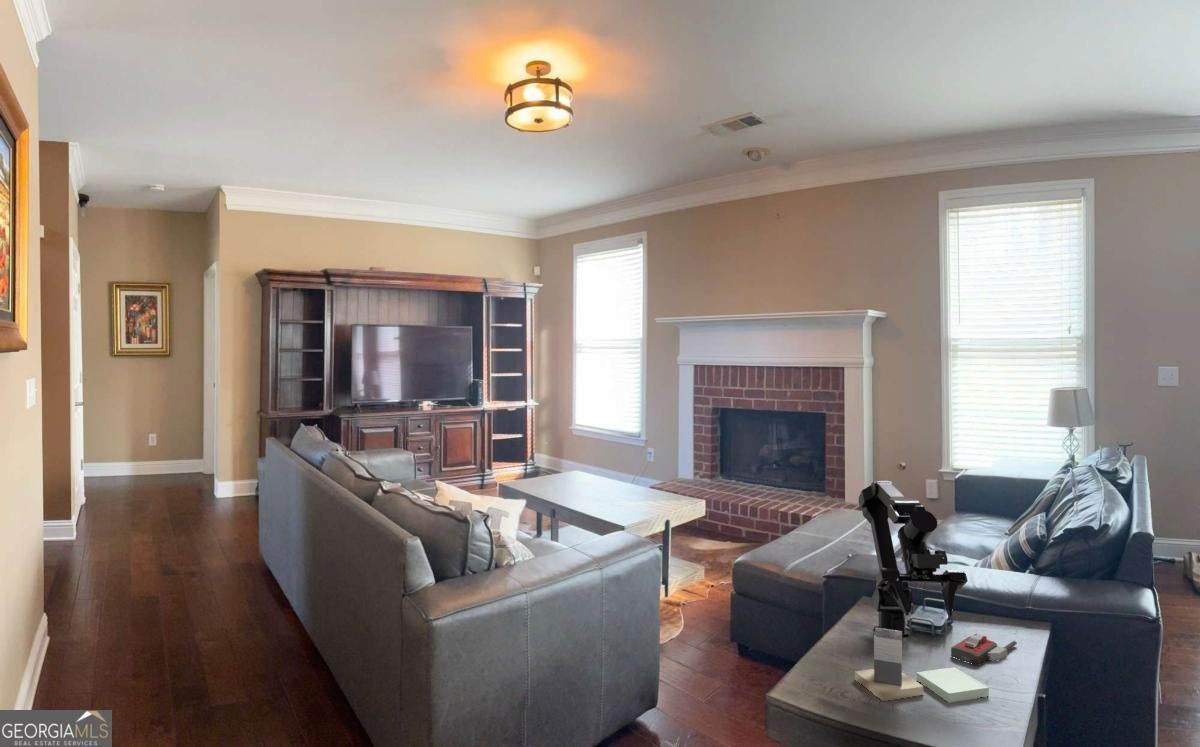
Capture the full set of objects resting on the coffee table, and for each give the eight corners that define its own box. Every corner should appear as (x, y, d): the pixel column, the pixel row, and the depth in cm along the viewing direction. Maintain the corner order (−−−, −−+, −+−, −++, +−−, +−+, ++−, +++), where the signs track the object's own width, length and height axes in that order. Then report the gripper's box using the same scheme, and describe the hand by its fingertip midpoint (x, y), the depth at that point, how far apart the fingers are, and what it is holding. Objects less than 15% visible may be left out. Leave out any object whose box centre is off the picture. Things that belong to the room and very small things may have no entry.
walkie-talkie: (985, 673, 158) (1020, 649, 171) (985, 654, 158) (1020, 631, 170) (946, 660, 165) (982, 638, 177) (946, 642, 165) (982, 621, 177)
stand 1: (854, 680, 154) (854, 671, 154) (893, 674, 157) (893, 666, 157) (882, 701, 145) (882, 692, 145) (923, 695, 147) (923, 686, 147)
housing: (875, 671, 154) (875, 627, 154) (901, 675, 152) (901, 631, 152) (874, 681, 149) (874, 636, 149) (901, 686, 147) (901, 640, 147)
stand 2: (916, 681, 154) (916, 672, 154) (954, 675, 156) (954, 667, 156) (948, 702, 144) (948, 693, 144) (988, 696, 146) (988, 687, 146)
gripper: (881, 535, 157) (894, 603, 148) (966, 537, 155) (985, 606, 146) (870, 553, 166) (882, 618, 157) (951, 555, 164) (967, 621, 155)
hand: (928, 616), depth 154 cm, fingers open, 9 cm apart
